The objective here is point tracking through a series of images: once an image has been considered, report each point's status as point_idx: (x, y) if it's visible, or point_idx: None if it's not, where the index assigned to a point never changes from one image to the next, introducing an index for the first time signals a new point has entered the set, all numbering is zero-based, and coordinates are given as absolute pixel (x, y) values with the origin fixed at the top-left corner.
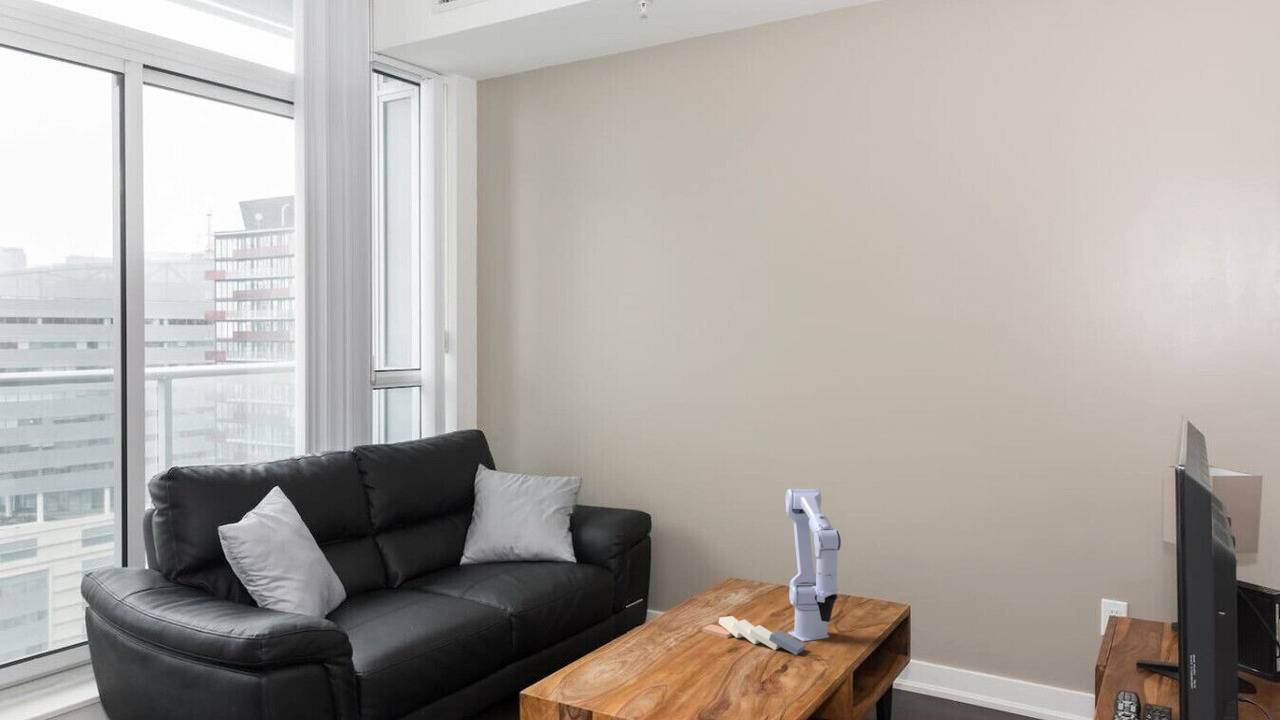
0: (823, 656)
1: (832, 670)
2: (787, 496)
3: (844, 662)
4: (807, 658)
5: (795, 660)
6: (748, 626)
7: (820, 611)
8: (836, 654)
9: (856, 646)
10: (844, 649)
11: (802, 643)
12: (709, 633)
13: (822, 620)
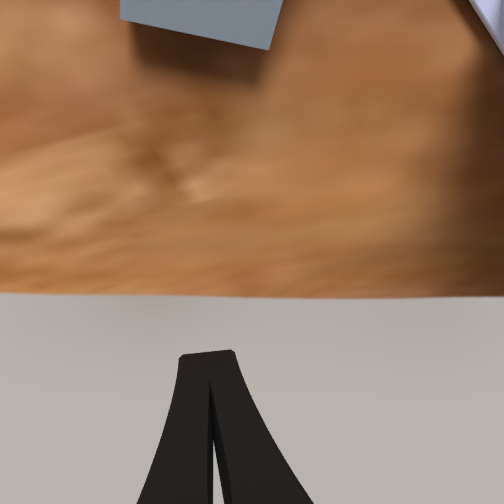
0: (217, 173)
1: (30, 267)
2: None
3: (183, 282)
4: (126, 91)
5: (27, 15)
6: None
7: (158, 462)
8: (281, 224)
9: (425, 269)
10: (370, 237)
11: (266, 22)
12: None
13: (181, 366)
